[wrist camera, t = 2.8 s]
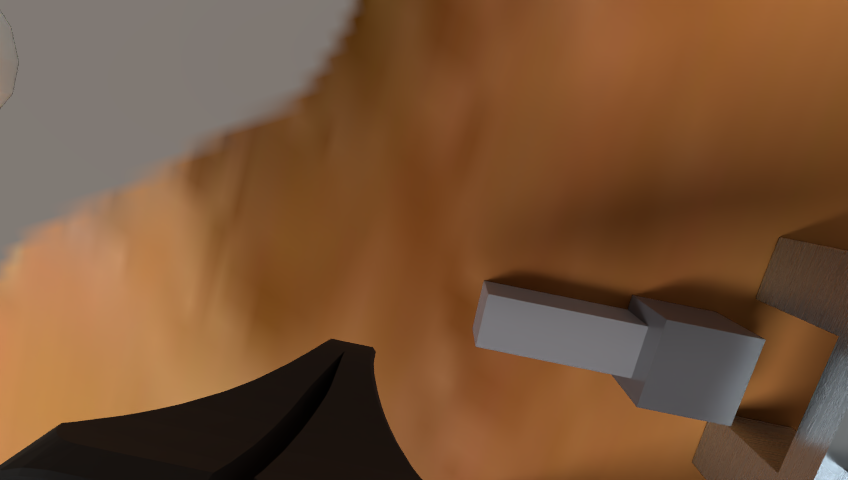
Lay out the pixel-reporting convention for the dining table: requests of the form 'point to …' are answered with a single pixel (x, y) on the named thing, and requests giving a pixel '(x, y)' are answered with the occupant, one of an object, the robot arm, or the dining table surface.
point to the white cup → (7, 61)
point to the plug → (629, 346)
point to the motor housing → (834, 395)
